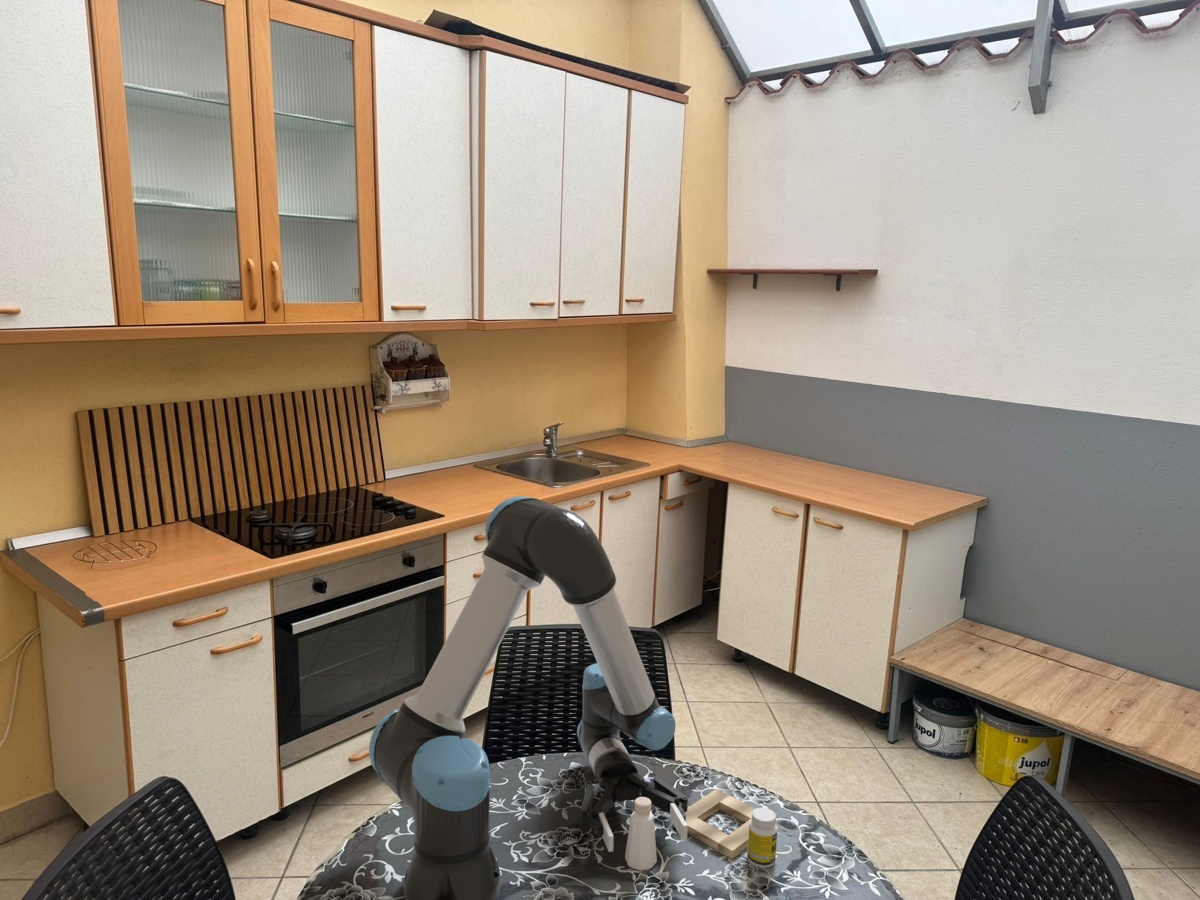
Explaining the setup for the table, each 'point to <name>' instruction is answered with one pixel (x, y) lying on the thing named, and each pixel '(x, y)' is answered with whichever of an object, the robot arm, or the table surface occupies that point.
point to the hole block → (713, 836)
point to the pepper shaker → (641, 837)
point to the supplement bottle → (762, 838)
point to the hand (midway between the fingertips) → (648, 838)
